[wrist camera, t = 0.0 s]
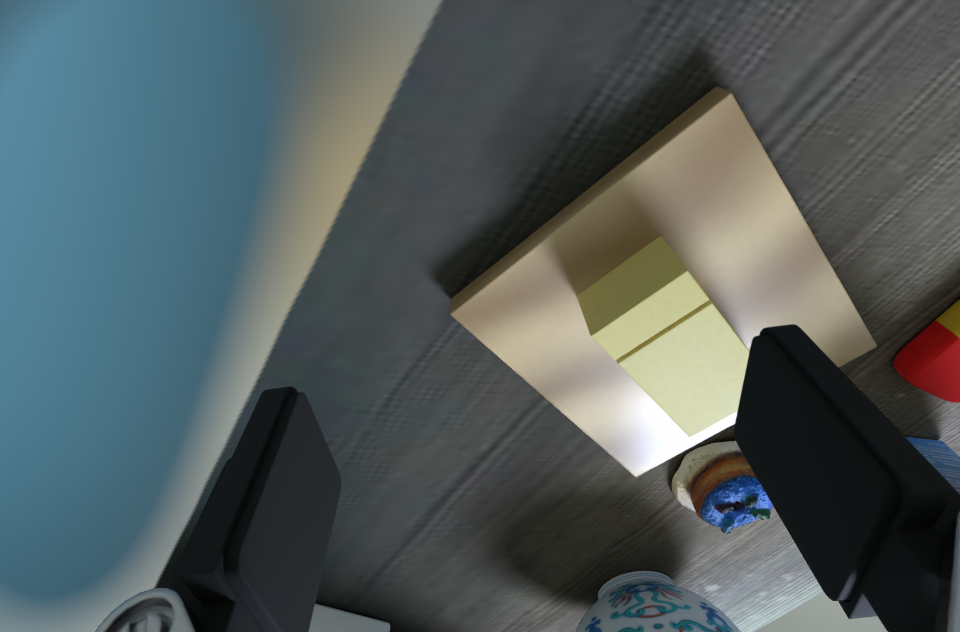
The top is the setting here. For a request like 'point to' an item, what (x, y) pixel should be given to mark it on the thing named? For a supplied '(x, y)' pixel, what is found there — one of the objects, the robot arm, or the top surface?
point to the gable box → (344, 621)
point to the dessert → (720, 486)
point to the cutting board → (700, 247)
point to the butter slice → (639, 299)
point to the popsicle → (934, 357)
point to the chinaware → (651, 607)
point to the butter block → (692, 368)
